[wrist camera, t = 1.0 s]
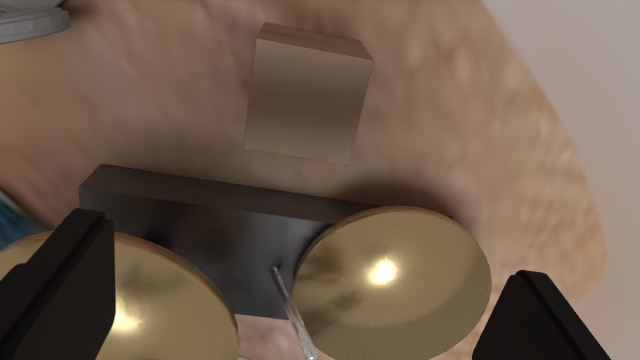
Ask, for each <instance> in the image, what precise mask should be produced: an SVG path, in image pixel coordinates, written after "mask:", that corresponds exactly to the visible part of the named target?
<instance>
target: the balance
mask: <svg viewBox="0 0 640 360" xmlns="http://www.w3.org/2000/svg"><path fill="white" fill-rule="evenodd" d="M79 201H80V209H88V210H95V211H102V212H104V213H105V215H106V219H112V220H113V222H114V243H115V285H116V315H115V320H114V323H113V326H112V328H111V330H110V332H109V334H108V336H107V338H106V340H105V342H104V344H103V345H102V347H101V349H100V351H99V353H98V355H97V357H96V359H95V360H238V354H239V342H240V339H239V331H238V325H237V322H236V319H235V315H234V314H242V315H250V316H259V317H268V318H276V319H285V320H290V322H291V325H292V327H293V329H294V331H295V334H296V336H297V338H298V341H299V343H300V345H301V348H302V350H303V352H304V354H305V357H306V359H307V360H319V355H318V353H317V351H316V349H315V347H316V348H318V349H319V350H320V351H322V352H323V353H325V354H326V355H328V356H330V357H332V358H334V359H336V360H429V359H431V358H434V357H436V356H438V355H440V354H442V353H444V352H446V351H447V350H449V349H450V348H452V347H453V346H455V345H456V344H458V343H459V342H460V341H461V340H462V339H464V338H465V337H466V336H467V335H468V334H469V333H470V332H471V331H472V330H473V329H474V327H475V326H476V325H477V323H478V322H479V321H480V319H481V317H482V315H483V314H484V312H485V310H486V307H487V305H488V302H489V298H490V294H491V283H492V280H491V272H490V268H489V264H488V261H487V259H486V257H485V255H484V253H483V251H482V250H481V248H480V246H479V245H478V243H477V242H476V240H475V239H474V238H473V236H472V235H471V234H470V233H469V232H468V231H467V230H466V229H465V228H464V227H463V226H462V225H460V224H459V223H457V222H456V221H455V220H453V219H452V217H450V216H445V215H443V214H441V213H438V212H435V211H432V210H429V209H424V208H420V207H412V206H386V207H383V206H377V205H370V204H363V203H357V202H350V201H343V200H337V199H330V198H323V197H317V196H310V195H303V194H297V193H290V192H283V191H277V190H270V189H263V188H257V187H250V186H243V185H237V184H230V183H223V182H217V181H210V180H203V179H197V178H190V177H183V176H177V175H170V174H163V173H157V172H150V171H143V170H137V169H130V168H123V167H117V166H110V165H103V164H101V165H100V166H99V167H98V168H97V169H96V170H95V171H94V172H93V173H92V174H91V175H90V176H89V177H88V178H87V179H86V180H85V181H84V182H83V183H82V185H81V186H80V187H79ZM54 231H55V230H54ZM54 231H47V232H43V233H39V234H35V235H31V236H28V237H25V238H23V239H21V240H18V241H16V242H13V243H11V244H10V245H8V246H6V247H5V248H3V249H1V250H0V281H1V279H2V278H3V277H4V276H5V275H6V274H7V273H8V272H9V271H10V270H11V269H12V268H13V267H14V266H16V265H17V264H20V263H26V262H27V261H28V260H29V259H30V257H31V256H32V255H33V254H34V253H35V252H36V251H37V250H38V249H39V247H40V246H41V245H42V244H43V243H44V242H45V241H46V240H47V238H48V237H49V236H50V235H51V234H52V233H53V232H54ZM314 346H315V347H314Z"/></svg>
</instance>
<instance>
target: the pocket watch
mask: <svg viewBox="0 0 640 360" xmlns="http://www.w3.org/2000/svg"><path fill="white" fill-rule="evenodd" d="M62 2H63V0H0V10H1V11H4V13H0V45H1V44H6V43H11V42H16V41H21V40H27V39H32V38H37V37H42V36H46V35H50V34H53V33H57V32H61V31H64V30H66V29H68V28H70V27H71V23H70V21H71V18H70V15H69V12H68V11H64V10H63V9H62V8H58V7H57V6H58V5H59V4H60V3H62Z"/></svg>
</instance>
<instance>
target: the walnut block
mask: <svg viewBox="0 0 640 360" xmlns="http://www.w3.org/2000/svg"><path fill="white" fill-rule="evenodd" d="M372 64H373V59H372V58H371V56H370V55H369V54H368V52H367V51H366V49H365V48H364V46H363V45H362V43H361V42H360V41H359V40H354V39H349V38H344V37H338V36H333V35H328V34H323V33H318V32H313V31H308V30H303V29H297V28H292V27H287V26H282V25H277V24H272V23H267V22H265V23H264V25H263V27H262V29H261V31H260V33H259V35H258V37H257V40H256V48H255V56H254V64H253V72H252V80H251V88H250V96H249V104H248V112H247V120H246V128H245V136H244V144H243V148H245V149H251V150H258V151H264V152H270V153H276V154H283V155H289V156H295V157H301V158H308V159H314V160H320V161H326V162H333V163H339V164H345V165H348V163H349V159H350V154H351V150H352V146H353V142H354V138H355V134H356V130H357V126H358V122H359V117H360V113H361V109H362V105H363V101H364V97H365V93H366V89H367V84H368V80H369V76H370V72H371V68H372Z"/></svg>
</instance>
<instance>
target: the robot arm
mask: <svg viewBox="0 0 640 360" xmlns="http://www.w3.org/2000/svg"><path fill="white" fill-rule="evenodd" d="M115 315H116V285H115V243H114V222H113V220H112V219H106V215H105V213H104V212H102V211H95V210H88V209H80V208H75V209H74V210H73V211H72V212H71V213H70V214H69V215H68V216H67V217H66V218H65V219H64V221H63V222H62V223H61V224H60V225H59V226H58V227H57V228H56V230H55V231H54V232H53V233H52V234H51V235H50V236H49V237H48V238H47V240H46V241H45V242H44V243H43V244H42V245H41V246H40V247H39V249H38V250H37V251H36V252H35V253H34V254H33V255H32V256H31V257H30V259H29V260H28V261H27V262H26V263H20V264H17V265H16V266H14V267H13V268H12V269H11V270H10V271H9V272H8V273H7V274H6V275H5V276H4V277H3V278H2V279H1V281H0V360H95V359H96V357H97V355H98V353H99V351H100V349H101V347H102V345H103V344H104V342H105V340H106V338H107V336H108V334H109V332H110V330H111V328H112V326H113V323H114V320H115ZM472 360H611V359H610V358H609V356H608V355H607V354H606V352H605V351H604V350H603V348H602V347H601V346H600V344H599V343H598V342H597V340H596V339H595V338H594V336H593V335H592V334H591V332H590V331H589V330H588V328H587V327H586V326H585V324H584V323H583V322H582V320H581V319H580V318H579V316H578V315H577V314H576V312H575V311H574V310H573V308H572V307H571V306H570V304H569V303H568V302H567V300H566V299H565V298H564V296H563V295H562V294H561V292H560V291H559V290H558V288H557V287H556V286H555V284H554V283H553V282H552V280H551V279H550V278H549V276H548V275H546V274H545V273H541V272H534V271H527V270H519V271H518V272H517V273H516V274H515V275H511V276H510V277H509V278H508V280H507V282H506V284H505V286H504V288H503V291H502V293H501V295H500V297H499V299H498V301H497V303H496V305H495V307H494V309H493V311H492V313H491V315H490V317H489V320H488V322H487V324H486V326H485V328H484V330H483V332H482V334H481V336H480V338H479V340H478V342H477V344H476V347H475V349H474V351H473V354H472Z"/></svg>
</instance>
